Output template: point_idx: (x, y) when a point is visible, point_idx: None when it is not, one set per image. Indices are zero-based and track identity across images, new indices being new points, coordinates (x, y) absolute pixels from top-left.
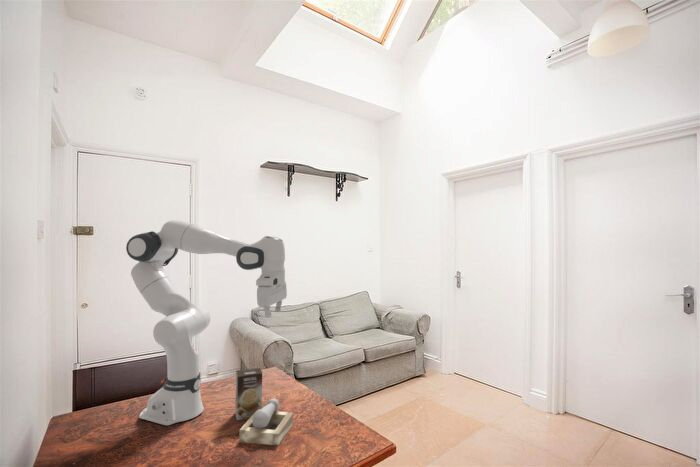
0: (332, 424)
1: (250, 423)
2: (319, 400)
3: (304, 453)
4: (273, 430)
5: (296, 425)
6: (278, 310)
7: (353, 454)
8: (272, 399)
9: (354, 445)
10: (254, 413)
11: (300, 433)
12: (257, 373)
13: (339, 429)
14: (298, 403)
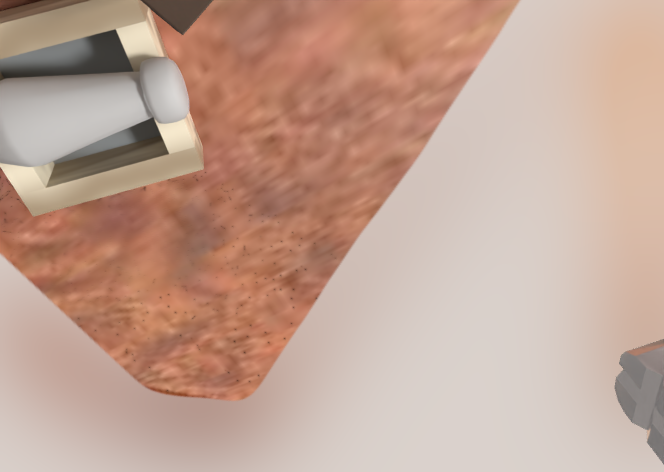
0: (272, 260)
1: (2, 55)
2: (420, 133)
3: (76, 275)
4: (38, 184)
5: None
6: (635, 412)
7: (162, 367)
8: (158, 103)
9: (200, 353)
10: (88, 3)
11: (163, 205)
12: (157, 2)
13: (255, 289)
14: (366, 64)
